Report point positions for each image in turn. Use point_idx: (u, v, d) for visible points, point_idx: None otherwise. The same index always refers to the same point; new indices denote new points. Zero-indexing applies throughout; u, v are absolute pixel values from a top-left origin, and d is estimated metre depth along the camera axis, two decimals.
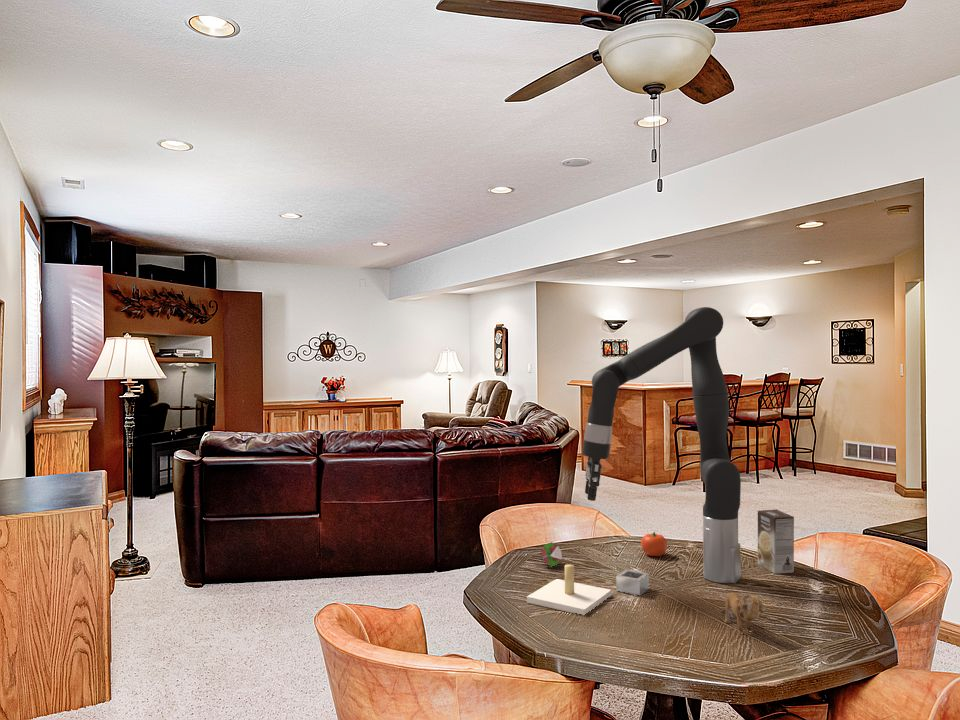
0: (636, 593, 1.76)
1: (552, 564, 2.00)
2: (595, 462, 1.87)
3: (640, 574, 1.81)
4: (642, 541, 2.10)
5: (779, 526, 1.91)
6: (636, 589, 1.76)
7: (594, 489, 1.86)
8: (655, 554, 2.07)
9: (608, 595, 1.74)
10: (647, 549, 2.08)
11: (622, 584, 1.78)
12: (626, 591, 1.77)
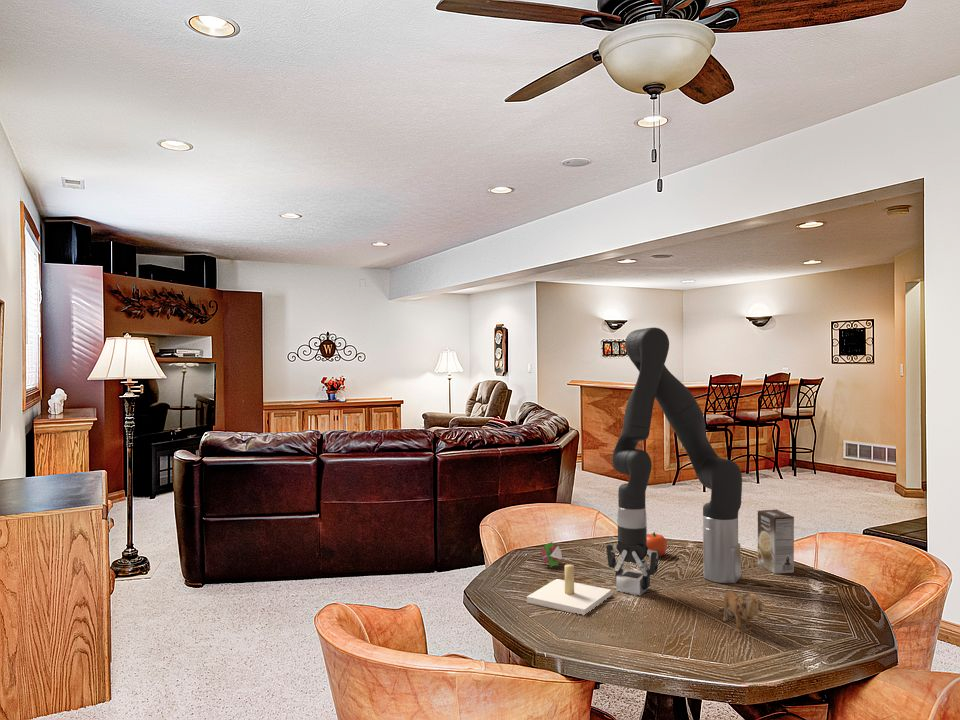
0: (636, 593, 1.76)
1: (552, 564, 2.00)
2: (646, 548, 1.77)
3: (640, 574, 1.81)
4: None
5: (779, 526, 1.91)
6: (636, 589, 1.76)
7: (649, 576, 1.78)
8: None
9: (608, 595, 1.74)
10: None
11: (622, 584, 1.78)
12: (626, 591, 1.77)
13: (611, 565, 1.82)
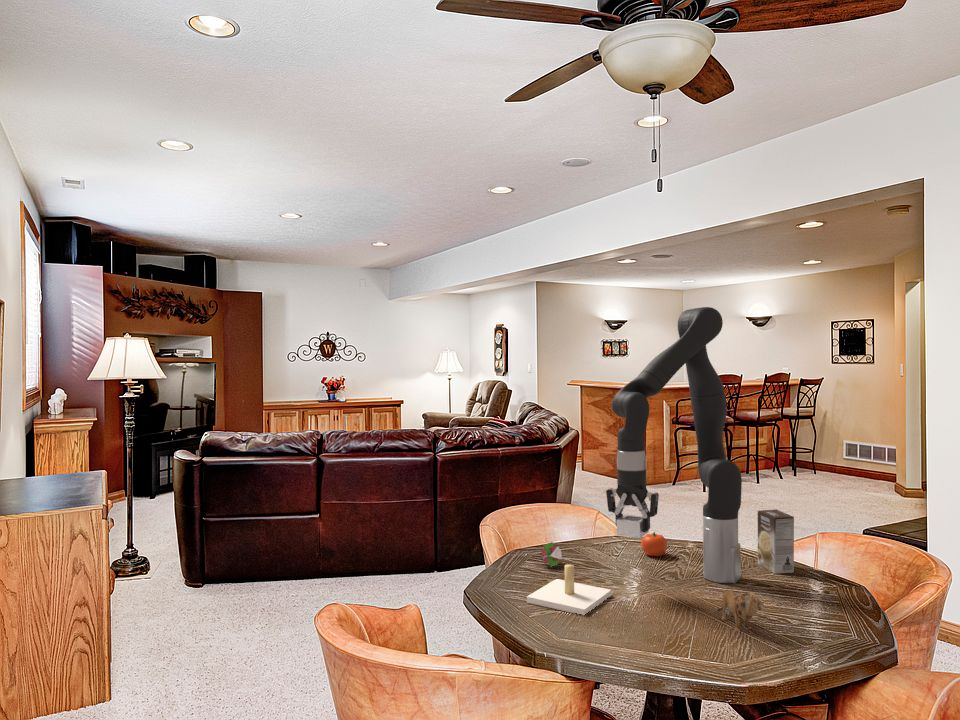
0: (636, 535, 1.76)
1: (552, 564, 2.00)
2: (645, 490, 1.77)
3: (640, 518, 1.81)
4: (642, 541, 2.10)
5: (779, 526, 1.91)
6: (636, 532, 1.76)
7: (649, 519, 1.77)
8: (655, 554, 2.07)
9: (608, 595, 1.74)
10: (647, 549, 2.08)
11: (622, 527, 1.78)
12: (626, 534, 1.77)
13: (611, 509, 1.81)
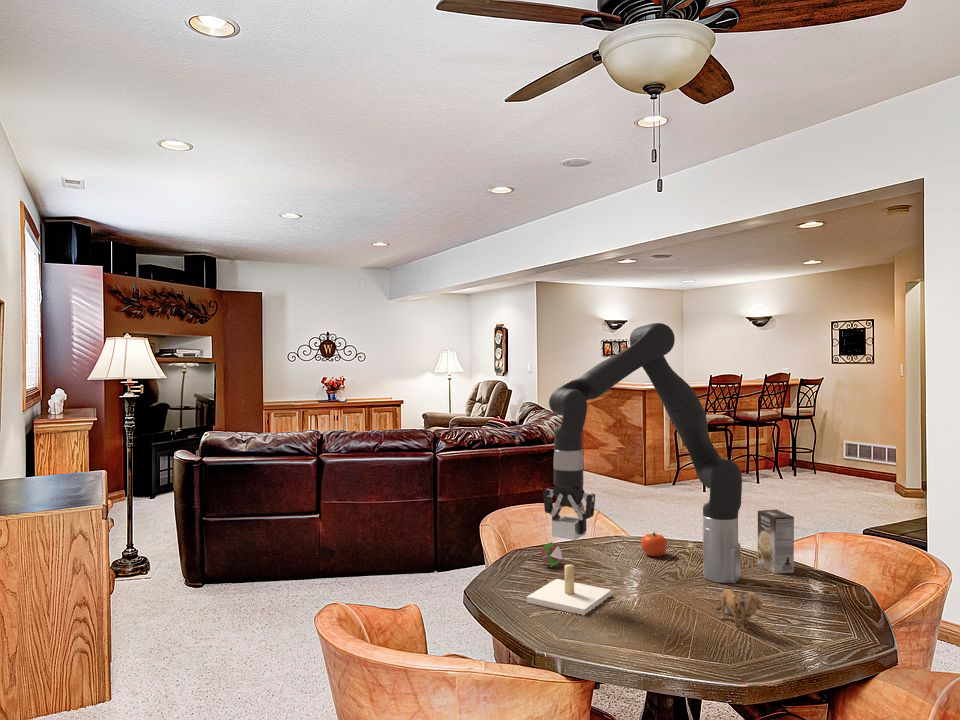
0: (571, 537, 1.69)
1: (552, 564, 2.00)
2: (582, 491, 1.71)
3: (577, 519, 1.74)
4: (642, 541, 2.10)
5: (779, 526, 1.91)
6: (571, 534, 1.69)
7: (585, 521, 1.71)
8: (655, 554, 2.07)
9: (608, 595, 1.74)
10: (647, 549, 2.08)
11: (557, 529, 1.72)
12: (561, 536, 1.71)
13: (547, 510, 1.75)
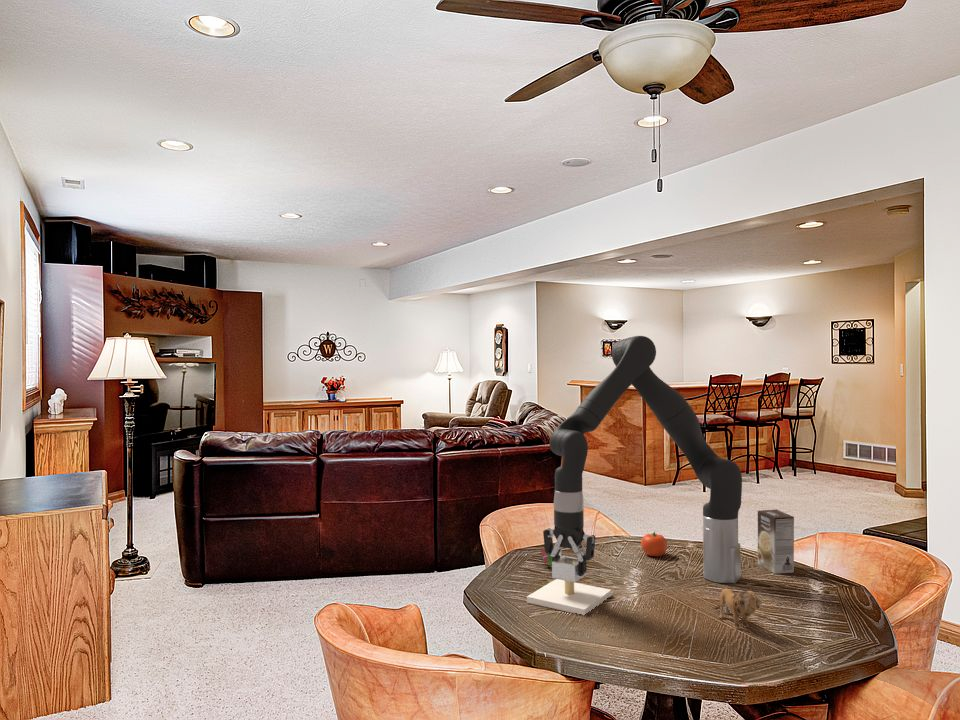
0: (571, 579, 1.70)
1: None
2: (582, 533, 1.71)
3: (577, 560, 1.75)
4: (642, 541, 2.10)
5: (779, 526, 1.91)
6: (571, 576, 1.70)
7: (585, 562, 1.71)
8: (655, 554, 2.07)
9: (608, 595, 1.74)
10: (647, 549, 2.08)
11: (558, 570, 1.72)
12: (561, 577, 1.71)
13: (548, 551, 1.76)
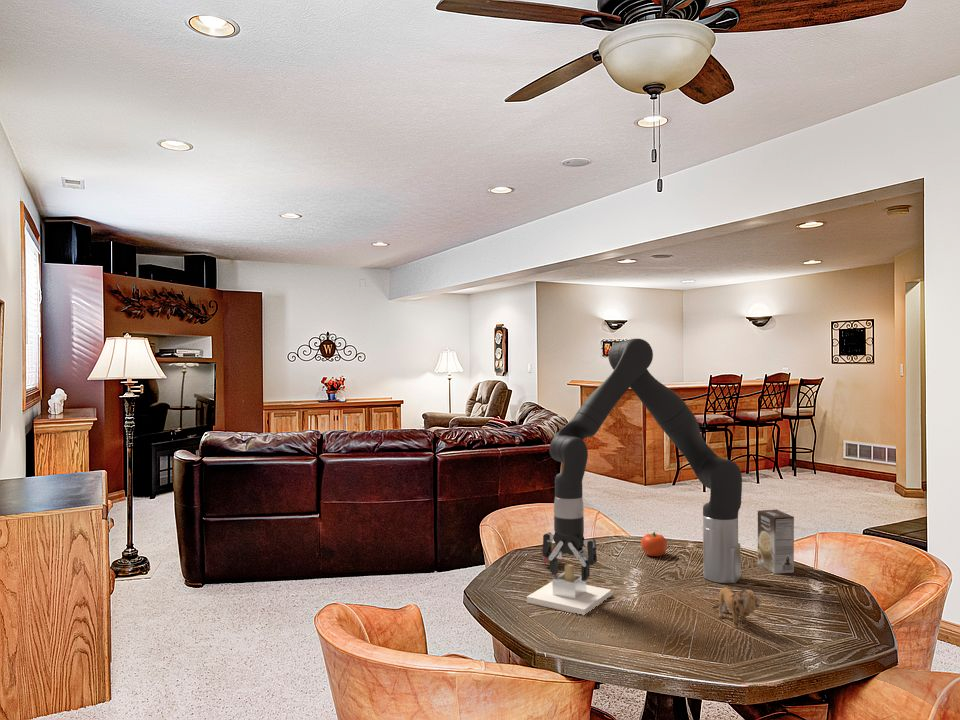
0: (572, 597, 1.70)
1: None
2: (582, 538, 1.71)
3: (578, 577, 1.75)
4: (642, 541, 2.10)
5: (779, 526, 1.91)
6: (571, 593, 1.70)
7: (588, 567, 1.71)
8: (655, 554, 2.07)
9: (608, 595, 1.74)
10: (647, 549, 2.08)
11: (558, 587, 1.72)
12: (562, 594, 1.71)
13: (545, 555, 1.76)
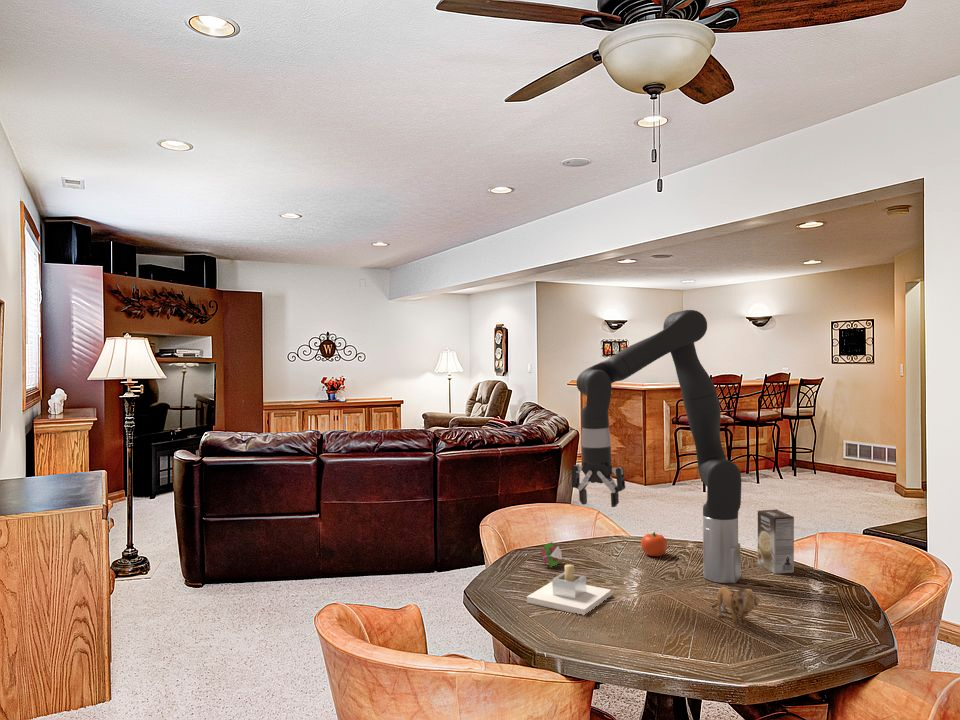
0: (572, 597, 1.70)
1: (552, 564, 2.00)
2: (610, 467, 1.78)
3: (578, 577, 1.75)
4: (642, 541, 2.10)
5: (779, 526, 1.91)
6: (571, 593, 1.70)
7: (617, 494, 1.78)
8: (655, 554, 2.07)
9: (608, 595, 1.74)
10: (647, 549, 2.08)
11: (558, 587, 1.72)
12: (562, 594, 1.71)
13: (574, 485, 1.83)
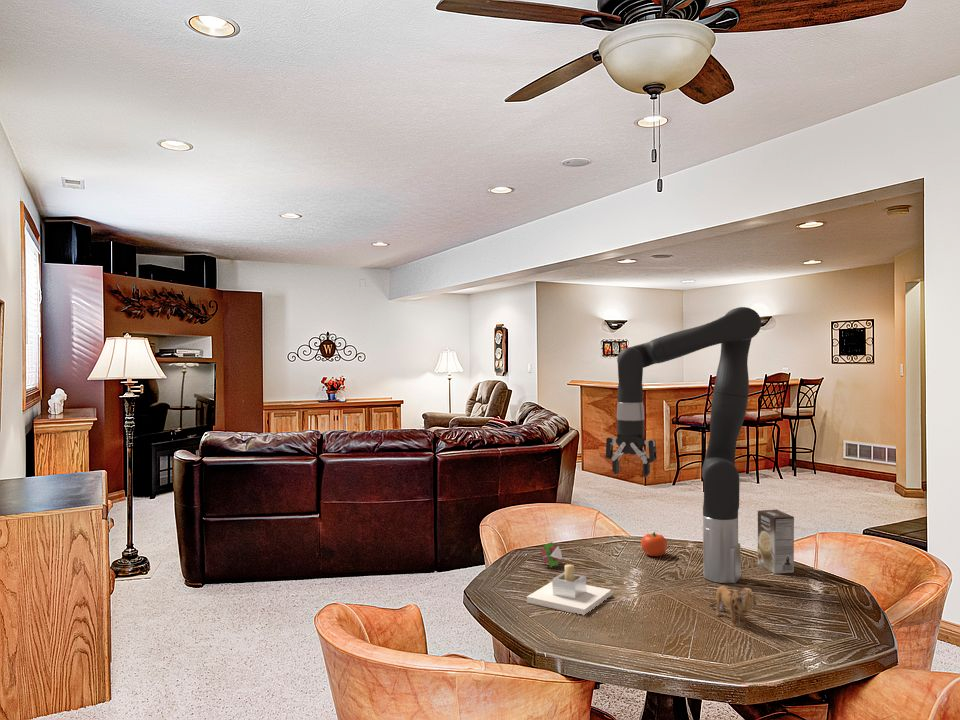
0: (572, 597, 1.70)
1: (552, 564, 2.00)
2: (643, 439, 1.90)
3: (578, 577, 1.75)
4: (642, 541, 2.10)
5: (779, 526, 1.91)
6: (571, 593, 1.70)
7: (649, 465, 1.90)
8: (655, 554, 2.07)
9: (608, 595, 1.74)
10: (647, 549, 2.08)
11: (558, 587, 1.72)
12: (562, 594, 1.71)
13: (608, 456, 1.95)
